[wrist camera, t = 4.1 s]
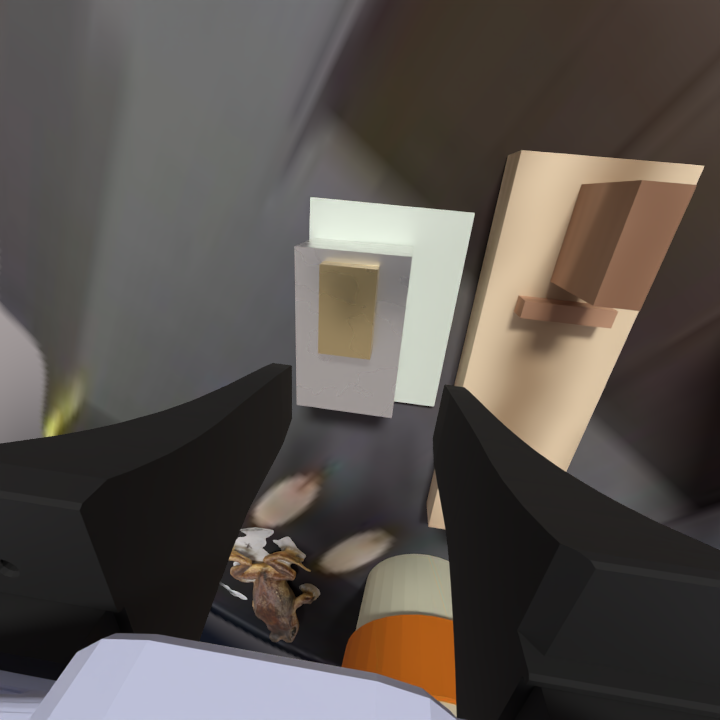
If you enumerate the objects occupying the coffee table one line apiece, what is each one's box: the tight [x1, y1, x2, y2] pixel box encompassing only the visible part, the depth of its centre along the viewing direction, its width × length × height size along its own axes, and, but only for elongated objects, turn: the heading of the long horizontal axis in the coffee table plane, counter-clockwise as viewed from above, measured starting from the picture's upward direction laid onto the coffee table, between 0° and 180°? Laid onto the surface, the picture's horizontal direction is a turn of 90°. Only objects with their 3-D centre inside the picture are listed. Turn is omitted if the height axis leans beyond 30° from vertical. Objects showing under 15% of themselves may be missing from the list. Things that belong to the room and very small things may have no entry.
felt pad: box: [309, 197, 475, 407], centre depth 19 cm, size 8×11×1 cm
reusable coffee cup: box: [342, 554, 457, 718], centre depth 23 cm, size 13×13×15 cm
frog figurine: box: [220, 527, 320, 642], centre depth 30 cm, size 12×12×4 cm
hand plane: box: [427, 150, 704, 529], centre depth 18 cm, size 7×22×6 cm, turn 175°
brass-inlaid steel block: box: [295, 238, 413, 418], centre depth 17 cm, size 5×8×4 cm, turn 176°
